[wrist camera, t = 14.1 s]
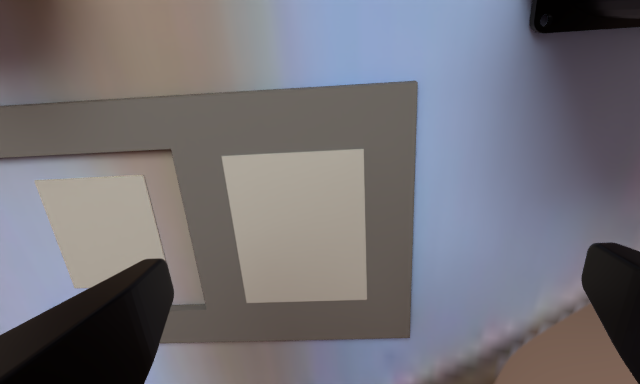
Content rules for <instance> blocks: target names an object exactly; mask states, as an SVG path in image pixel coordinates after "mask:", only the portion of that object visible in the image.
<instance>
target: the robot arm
mask: <svg viewBox="0 0 640 384" xmlns="http://www.w3.org/2000/svg"><path fill="white" fill-rule="evenodd" d="M545 14H546V15H547V16H548V21H547V23H546V24H545V25H544V26H541V24H540V19H541V17H542V16H543V15H545ZM530 27H531V29H532V30H533V31H535V32H538V33H554V32H570V31H585V30H600V29H615V28H630V27H640V0H533V1H532V8H531V16H530ZM582 286H583V288H584V291H585V292H586V294H587V296H588V298H589V300H590V302H591V304H592V305H593V307H594V309H595V311H596V313H597V315H598V317H599V318H600V320H601V322H602V324H603V326H604V328H605V330H606V332H607V333H608V335H609V337H610V339H611V341H612V343H613V345H614V346H615V348H616V350H617V351H618V353H619V355H620V356H621V358H622V360H623V361H624V363H625V364H626V366H627V367H628V368H629V370H630V372H631V373H632V375H633V376H634V378H635V379H636V381H637V382H638V384H640V252H639V251H637V250H634V249H631V248H628V247H625V246H622V245H620V244H617V243H594V244H592V245H591V246H590V247H589V249H588V251H587V256H586V260H585V264H584V268H583V273H582ZM173 298H174V289H173V285H172V281H171V277H170V273H169V269H168V265H167V263H166V261H165V260H164V259H162V258H155V259H144V260H142V261H140V262H138V263H136V264H134V265H133V266H131V267H129V268H127V269H125V270H123V271H121V272H119V273H117V274H115V275H114V276H112V277H110V278H108V279H106V280H104V281H102V282H100V283H98V284H97V285H95V286H93V287H91V288H89V289H87V290H85V291H83V292H81V293H79V294H78V295H76V296H74V297H72V298H70V299H68V300H66V301H64V302H62V303H61V304H59V305H57V306H55V307H53V308H51V309H49V310H47V311H45V312H43V313H42V314H40V315H38V316H36V317H34V318H32V319H30V320H28V321H26V322H25V323H23V324H21V325H19V326H17V327H15V328H13V329H11V330H9V331H7V332H6V333H4V334H2V335H0V384H144V383H145V380H146V378H147V376H148V373H149V371H150V369H151V366H152V364H153V361H154V358H155V355H156V353H157V350H158V346H159V343H160V340H161V337H162V334H163V331H164V327H165V324H166V321H167V318H168V315H169V312H170V308H171V305H172V302H173Z"/></svg>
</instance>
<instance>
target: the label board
mask: <svg viewBox="0 0 640 384" xmlns="http://www.w3.org/2000/svg"><path fill="white" fill-rule="evenodd" d="M417 84H418V82H416V81H405V82H389V83H372V84H356V85H339V86H323V87H306V88H290V89H273V90H257V91H240V92H224V93H207V94H190V95H174V96H157V97H141V98H124V99H108V100H91V101H75V102H58V103H42V104H25V105H9V106H0V158H6V157H25V156H45V155H64V154H83V153H102V152H121V151H140V150H160V149H171V151H172V156H173V160H174V165H175V169H176V174H177V178H178V183H179V187H180V192H181V196H182V201H183V205H184V210H185V214H186V219H187V223H188V228H189V232H190V237H191V241H192V246H193V250H194V255H195V259H196V264H197V268H198V273H199V277H200V282H201V286H202V291H203V295H204V300H205V304H204V305H171V308H170V312H169V315H168V318H167V321H166V324H165V327H164V331H163V334H162V337H161V340H160V343H194V342H240V341H286V340H332V339H377V338H410V309H411V277H412V245H413V213H414V181H415V149H416V116H417ZM35 184H36V187H37V189H38V192H39V195H40V197H41V200H42V203H43V205H44V208H45V211H46V213H47V216H48V219H49V221H50V224H51V227H52V229H53V232H54V234H55V237H56V240H57V242H58V245H59V248H60V250H61V253H62V256H63V258H64V261H65V264H66V266H67V269H68V272H69V274H70V277H71V280H72V282H73V285H74V288H91V287H93V286H95V285H97V284H98V283H100V282H102V281H104V280H106V279H108V278H110V277H112V276H114V275H115V274H117V273H119V272H121V271H123V270H125V269H127V268H129V267H131V266H133V265H134V264H136V263H138V262H140V261H142V260H144V259H155V258H162V259H164V260H165V261H166V259H165V255H164V251H163V247H162V243H161V239H160V236H159V232H158V228H157V224H156V220H155V216H154V212H153V208H152V204H151V201H150V197H149V193H148V189H147V185H146V181H145V177H144V175H133V176H112V177H92V178H71V179H50V180H35Z"/></svg>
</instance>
